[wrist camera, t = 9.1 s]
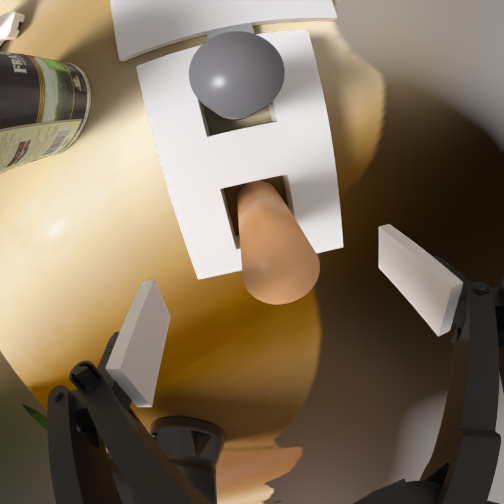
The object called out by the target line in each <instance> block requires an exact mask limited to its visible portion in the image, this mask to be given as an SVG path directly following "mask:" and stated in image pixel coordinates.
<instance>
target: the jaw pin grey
mask: <svg viewBox="0 0 504 504" xmlns="http://www.w3.org/2000/svg"><path fill="white" fill-rule="evenodd" d="M284 76H285V69H284V64H283V60H282V58H281V56H280V54H279V52H278V51H277V49H276V48H275V47H274V46H273V45H272V44H271V43H270V42H269V41H267V40H266V39H264V38H262V37H260V36H258V35H256V34H253V33H249V32H242V31H233V32H226V33H222V34H219V35H217V36H214V37H213V38H211V39H209V40H208V41H206V42H205V43H204V44H203V45H201V46H200V48H199V49H198V50H197V51H196V53H195V54H194V56H193V58H192V60H191V63H190V67H189V81H190V85H191V88H192V90H193V92H194V94H195V95H196V97H197V98H198V99H199V100H200V101H201V102H202V103H203V104H204V105H205V106H207V107H208V108H209V109H211V110H212V111H214V112H215V113H216V114H218V115H219V116H221V117H222V118H224V119H227V120H240V119H243V118H245V117H247V116H249V115H251V114H253V113H255V112H257V111H259V110H260V109H262V108H264V107H266V106H267V105H268V104H270V103H271V102H272V101H273V100H274V99H275V98H276V96H277V95H278V93H279V92H280V90H281V88H282V85H283V82H284Z"/></svg>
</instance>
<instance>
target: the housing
mask: <svg viewBox="0 0 504 504" xmlns="http://www.w3.org/2000/svg"><path fill="white" fill-rule="evenodd" d="M256 35H258V36H260V37H262V38H264V39H266V40H267V41H269V42H270V43H271V44H272V45H273V46H274V47H275V48H276V49H277V51H278V52H279V54H280V56H281V58H282V60H283V64H284V69H285V76H284V82H283V85H282V88H281V90H280V92H279V93H278V95H277V96H276V98H275V99H274V100H273V101H272V102H271V103H270V104H268V106H269V111H270V115H271V120H272V122H270V123H264V124H259V125H254V126H249V127H244V128H240V129H235V130H231V131H226V132H222V133H218V134H214V135H210V134H209V130H208V126H207V122H206V117H205V113H204V109H203V105H202V102H201V101H200V100H199V99H198V98H197V97H196V95H195V94H194V92H193V90H192V88H191V85H190V81H189V67H190V63H191V60H192V58H193V56H194V54H195V53H196V51H197V50H198V49H199V48H200V46H201V45H200V46H196V47H192V48H188V49H185V50H181V51H178V52H175V53H172V54H168V55H165V56H162V57H159V58H157V59H154V60H151V61H148V62H146V63H143V64H140V65H138V66H136V69H137V74H138V78H139V83H140V87H141V92H142V96H143V100H144V104H145V108H146V112H147V116H148V120H149V124H150V128H151V132H152V136H153V140H154V143H155V147H156V151H157V154H158V158H159V161H160V165H161V168H162V172H163V175H164V178H165V182H166V185H167V188H168V192H169V195H170V198H171V201H172V205H173V208H174V211H175V214H176V217H177V220H178V223H179V226H180V229H181V232H182V235H183V238H184V241H185V244H186V247H187V250H188V253H189V255H190V258H191V261H192V264H193V267H194V269H195V272H196V275H197V278H198V280H199V279H203V278H208V277H213V276H217V275H222V274H227V273H231V272H236V271H240V270H242V261H241V248H240V235H237V236H235V232H234V228H233V224H232V221H231V217H230V213H229V209H228V205H227V201H226V197H225V193H224V189H223V188H226V187H231V186H235V185H239V184H244V183H248V182H252V181H257V180H262V179H266V178H271V177H276V176H281V175H283V180H284V185H285V191H286V196H287V202H288V208H289V210H290V212H291V213H292V215H293V217H294V218H295V220H296V221H297V223H298V224H299V226H300V228H301V229H302V231H303V233H304V234H305V236H306V237H307V239H308V241H309V242H310V244H311V246H312V247H313V249H314V251H315V252H316V253H320V252H324V251H329V250H333V249H337V248H342V247H343V237H342V223H341V211H340V200H339V190H338V181H337V173H336V165H335V158H334V151H333V144H332V138H331V132H330V126H329V120H328V115H327V109H326V104H325V99H324V94H323V89H322V85H321V80H320V76H319V71H318V67H317V63H316V59H315V55H314V51H313V47H312V44H311V40H310V36H309V33H308V30H292V31H280V32H270V33H262V34H256Z"/></svg>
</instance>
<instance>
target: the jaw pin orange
mask: <svg viewBox="0 0 504 504" xmlns="http://www.w3.org/2000/svg"><path fill="white" fill-rule="evenodd" d="M237 208H238V222H239V235H240V248H241V261H242V274H243V281H244V284H245V286H246V288H247V290H248V291H249V293H250V294H251V295H252V296H254V297H255V298H256V299H258V300H260V301H262V302H265V303H269V304H286V303H290V302H293V301H296V300H298V299H300V298H301V297H303V296H304V295H305V294H307V293H308V292H309V291H310V290H311V289H312V287H313V286H314V285H315V283H316V281H317V278H318V276H319V270H320V265H319V259H318V256H317V254H316V252H315V251H314V249H313V247H312V246H311V244H310V242H309V241H308V239H307V237H306V236H305V234H304V233H303V231H302V229H301V228H300V226H299V224H298V223H297V221H296V220H295V218H294V217H293V215H292V213H291V212H290V210H289V209H288V207H287V205H286V204H285V202H284V201H283V199H282V198H281V196H280V195H279V193H278V192H277V190H276V189H275V187H274V186H273V185H271V184H270V183H268V182H265V181H260V180H259V181H252V182H250V183H248V184H246V185H245V186H244V187H243V188H242V189H241V190H240V192H239V194H238V197H237Z"/></svg>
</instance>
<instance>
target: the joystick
mask: <svg viewBox="0 0 504 504" xmlns="http://www.w3.org/2000/svg"><path fill="white" fill-rule="evenodd" d="M24 19H25V15H24V14H20V13H17V12H10V13H7V14H4V15H2V16H0V46H1V44H2V43H3V42H4V41H5V40H10V39H15V38H16V37H17V36H18V34H19V30H17V29H18V25H19V22H24Z"/></svg>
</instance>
